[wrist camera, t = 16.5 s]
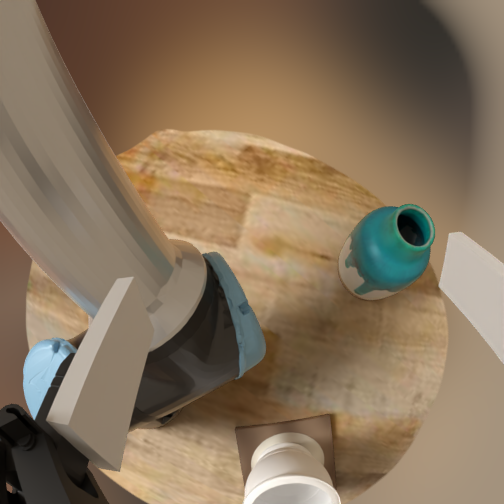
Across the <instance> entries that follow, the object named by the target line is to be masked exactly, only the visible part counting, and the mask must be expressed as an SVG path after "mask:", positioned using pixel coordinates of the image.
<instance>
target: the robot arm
mask: <svg viewBox="0 0 504 504" xmlns="http://www.w3.org/2000/svg"><path fill="white" fill-rule="evenodd" d="M0 221H1V222H2V223H3V224H4V226H5V227H6V228H7V230H8V231H9V232H10V233H11V235H12V236H13V237H14V238H15V239H16V241H17V242H18V243H19V244H20V245H21V246H22V248H23V249H24V250H25V251H26V252H27V253H28V254H29V256H30V257H31V258H32V259H33V260H34V261H35V262H36V263H37V265H38V266H39V267H40V268H41V269H42V270H43V271H44V272H45V273H46V274H47V275H48V276H49V277H50V278H51V279H52V280H53V281H54V282H55V283H56V284H57V286H58V287H59V288H60V289H62V290H63V291H64V292H65V293H66V294H67V295H68V296H69V297H70V298H71V299H72V300H73V301H74V302H75V303H76V304H77V305H78V306H79V307H80V308H81V309H83V310H84V311H85V312H86V313H87V314H88V315H89V328H88V329H87V330H85V331H84V332H82V333H81V334H79V335H78V336H76V337H74V338H72V339H70V340H66V341H65V340H64V339H61V338H52V339H47V340H42V341H40V342H38V343H37V344H36V345H35V346H34V347H33V348H32V349H31V350H30V352H29V354H28V356H27V358H26V361H25V365H24V370H23V373H24V381H23V388H24V394H25V398H26V402H27V405H28V407H29V410H30V412H31V415H32V416H33V419H34V420H33V419H32V418H31V417H30V416H29V415H28V414H27V413H26V411H25V410H24V409H23V408H22V407H20V406H19V405H17V404H10V405H7V406H5V407H3V408H2V409H1V410H0V504H109V503H108V501H107V499H106V498H105V496H104V494H103V493H102V491H101V489H100V487H99V486H98V484H97V482H96V480H95V478H94V476H93V474H92V473H91V472H90V470H89V469H88V468H87V466H88V462H89V461H91V462H92V463H93V464H94V465H96V466H97V467H98V468H101V469H107V470H112V471H118V472H120V468H121V463H122V458H123V453H124V448H125V444H126V439H127V434H128V432H131V431H133V430H135V429H137V428H139V429H153V428H157V427H160V426H163V425H165V424H166V423H168V422H169V421H171V420H172V419H173V418H175V417H176V416H177V415H178V414H179V412H180V411H181V409H182V408H183V407H184V406H186V405H187V404H189V403H191V402H193V401H195V400H197V399H199V398H201V397H203V396H204V395H206V394H208V393H210V392H212V391H214V390H215V389H217V388H219V387H221V386H223V385H224V384H226V383H228V382H230V381H232V380H236V379H239V378H241V377H242V376H243V374H244V373H245V372H246V371H248V370H249V369H251V368H252V367H254V366H255V365H257V364H258V363H259V362H260V361H261V360H262V359H263V358H264V356H265V353H266V342H265V338H264V335H263V332H262V330H261V327H260V325H259V322H258V320H257V318H256V316H255V314H254V312H253V310H252V308H251V307H250V306H249V305H248V300H247V299H246V296H245V294H244V291H243V289H242V287H241V286H240V284H239V282H238V280H237V279H236V277H235V275H234V273H233V272H232V270H231V268H230V267H229V265H228V264H227V262H226V261H225V260H224V258H223V257H222V256H221V255H220V254H219V253H217V252H210V253H205V254H201V253H200V252H199V250H198V249H197V248H196V247H194V246H193V245H192V244H190V243H188V242H186V241H182V240H174V239H168V238H167V236H166V235H165V233H164V232H163V230H162V229H161V227H160V226H159V224H158V223H157V221H156V220H155V218H154V217H153V215H152V214H151V212H150V211H149V209H148V208H147V206H146V205H145V203H144V201H143V200H142V198H141V197H140V195H139V194H138V192H137V190H136V189H135V187H134V186H133V184H132V182H131V181H130V179H129V178H128V176H127V174H126V173H125V171H124V170H123V168H122V166H121V165H120V163H119V161H118V160H117V158H116V156H115V155H114V153H113V151H112V150H111V148H110V146H109V145H108V143H107V141H106V139H105V138H104V136H103V134H102V133H101V131H100V129H99V127H98V125H97V124H96V122H95V120H94V118H93V117H92V115H91V113H90V111H89V109H88V108H87V106H86V104H85V102H84V100H83V98H82V97H81V95H80V93H79V91H78V89H77V87H76V85H75V83H74V81H73V79H72V78H71V76H70V74H69V72H68V70H67V68H66V66H65V64H64V62H63V60H62V58H61V56H60V54H59V52H58V50H57V48H56V46H55V43H54V41H53V39H52V37H51V35H50V33H49V31H48V28H47V26H46V24H45V22H44V19H43V17H42V15H41V12H40V10H39V8H38V6H37V3H36V1H35V0H0ZM439 288H440V289H441V290H442V291H443V292H444V293H445V294H446V295H447V296H448V297H449V298H450V300H451V301H452V302H453V303H454V304H455V305H456V306H457V307H458V309H459V310H460V311H461V312H462V313H463V314H464V315H465V316H466V318H467V319H468V320H469V321H470V322H471V324H472V325H473V326H474V327H475V328H476V330H477V331H478V332H479V333H480V335H481V336H482V337H483V338H484V340H485V341H486V342H487V343H488V345H489V346H490V347H491V348H492V350H493V351H494V352H495V353H496V355H497V356H498V357H499V359H500V360H501V362H502V363H503V364H504V264H503V263H502V262H501V261H499V260H498V259H497V258H495V257H494V256H493V255H492V254H490V253H489V252H488V251H487V250H485V249H484V248H483V247H481V246H480V245H478V244H477V243H476V242H475V241H473V240H472V239H470V238H469V237H467V236H466V235H465V234H463V233H462V232H454V233H449V236H448V242H447V248H446V254H445V259H444V265H443V269H442V273H441V278H440V282H439ZM6 482H7V483H8V484H10V485H11V486H12V487H13V490H12V493H10V492H9V491H7V488H6Z"/></svg>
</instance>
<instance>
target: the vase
mask: <svg viewBox="0 0 504 504" xmlns="http://www.w3.org/2000/svg"><path fill="white" fill-rule="evenodd" d="M434 238H435V228H434V224H433V221H432V219H431V217H430V216H429V215H428V213H427V212H426V211H425V210H423V209H422V208H420V207H419V206H417V205H413V204H405V205H402V206H400V207H393V206H389V207H381V208H378V209H376V210H374V211H372V212H371V213H369V214H368V215H366V216H365V217H364V218H363V219H362V220H361V221H360V222H359V223H358V224H357V226H356V227H355V228H354V230H353V231H352V232H351V234H350V235H349V237H348V238H347V240H346V242H345V244H344V246H343V248H342V250H341V252H340V255H339V259H338V273H339V277H340V280H341V282H342V284H343V285H344V287H345V288H346V289H347V290H348V291H349V292H350V293H351V294H352V295H354V296H356V297H358V298H360V299H364V300H378V299H383V298H386V297H389V296H391V295H394V294H396V293H398V292H400V291H402V290H403V289H405V288H407V287H408V286H410V285H411V284H412V283H414V282H415V281H416V280H417V279H418V278H419V277H420V276H421V275H422V273H423V272H424V271H425V269H426V267H427V265H428V262H429V258H430V246H431V245H432V243H433V241H434Z"/></svg>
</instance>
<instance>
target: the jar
mask: <svg viewBox="0 0 504 504" xmlns="http://www.w3.org/2000/svg"><path fill="white" fill-rule="evenodd" d="M243 504H341V502H340V498H339V495H338V493H337V491H336V490H335V488H334V487H333V484H332V480H331V478H330V476H329V474H328V472H327V470H326V469H325V468H324V466H323V465H322V464H321V463H320V462H319V461H317V460H316V459H315V458H314V457H313V456H312V455H311V453H310V452H309V451H308V450H307V449H306V448H305V447H303V446H301V445H299V444H295V443H289V442H284V443H278V444H275V445H272V446H270V447H268V448H267V449H265V450H264V451H263V452H262V453H261V455H260V456H259V458H258V460H257V463H256V464H255V466H254V468H253V469H252V471H251V472H250V474H249V476H248V479H247V482H246V486H245V499H244V501H243Z"/></svg>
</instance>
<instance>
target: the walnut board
mask: <svg viewBox="0 0 504 504" xmlns="http://www.w3.org/2000/svg"><path fill="white" fill-rule="evenodd" d="M235 432H236V438H237V444H238V451H239V457H240V463H241V469H242V474H243V480H244V486H246V482H247V479H248V476H249V474H250V472H251V471H252V469H253V468H254V466H255V464H256V463H257V460H258V458H259V456H260V455H261V453H262V452H263V451H264V450H265V449H267V448H268V447H270V446H272V445H275V444H278V443H284V442H289V443H295V444H299V445H301V446H303V447H305V448H306V449H307V450H308V451H309V452H310V453H311V455H312V456H313V457H314V458H315V459H316V460H317V461H319V462H320V463H321V464H322V465H323V466H324V468H325V469H326V470H327V472H328V474H329V476H330V478H331V480H332V484H333V487H334V488H335V490H337V489H336V475H335V462H334V451H333V440H332V430H331V421H330V415H329V414H325V415H320V416H315V417H310V418H304V419H298V420H292V421H285V422H278V423H271V424H263V425H254V426H243V427H236V428H235Z"/></svg>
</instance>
